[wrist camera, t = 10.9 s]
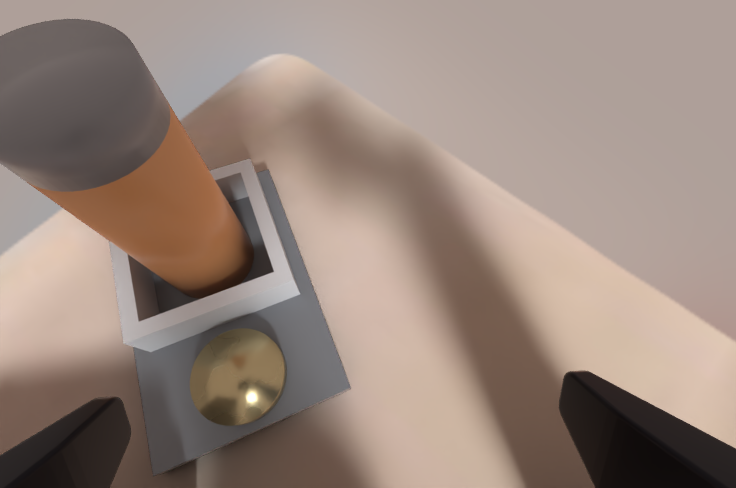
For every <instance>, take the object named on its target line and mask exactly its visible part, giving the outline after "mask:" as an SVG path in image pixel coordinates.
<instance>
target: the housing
mask: <svg viewBox="0 0 736 488" xmlns="http://www.w3.org/2000/svg"><path fill="white" fill-rule="evenodd" d="M210 173H211V175H212V176H213V178H214V180H215V181H216V183H217V185H218V186H219V188H220V190H221V191H222V193H223V195H224V196H225V198H226V200H227V201H228V203H229V205H230V206H231V208H232V210H233V211H234V213H235V215H236V216H237V218H238V220H239V221H240V223H241V225H242V226H243V228H244V230H245V231H246V233H247V235H248V236H249V238H250V240H251V242H252V245H253V249H254V259H253V264H252V267H251V269H250V271H249V273H248V275H247V276H246V278H245V279H244V280H243V281H242V283H241V284H240V285H237V286H234V287H232V288H229V289H226V290H224V291H221V292H218V293H215V294H213V295H210V296H207V297H205V298H202V299H199V298H193V297H190V296H187V295H185V294H184V293H182V292H180V291H179V290H178V289H176V288H175V287H173V286H172V285H171V284H169V283H168V282H166V281H165V280H164V279H162V278H161V277H159V276H158V275H157V274H155V273H154V272H152V271H151V270H150V269H148V268H147V267H145V266H144V265H143V264H141V263H140V262H138V261H137V260H135V259H134V258H133V257H131V256H130V255H128V254H127V253H126V252H124V251H123V250H121V249H120V248H119V247H117V246H116V245H114V244H113V243H112V242H110V241H109V246H110V252H111V259H112V266H113V273H114V280H115V287H116V294H117V301H118V308H119V315H120V322H121V329H122V336H123V343H124V344H126V345H129V346H132V347H133V348H134V355H135V361H136V368H137V374H138V381H139V387H140V394H141V400H142V407H143V413H144V420H145V426H146V433H147V439H148V446H149V452H150V459H151V465H152V472H153V476H155V475H159V474H162V473H165V472H168V471H170V470H172V469H174V468H177V467H179V466H181V465H183V464H185V463H188V462H190V461H192V460H194V459H197V458H199V457H201V456H203V455H206V454H208V453H210V452H212V451H214V450H217V449H219V448H221V447H223V446H226V445H228V444H230V443H232V442H234V441H237V440H239V439H241V438H243V437H246V436H248V435H250V434H252V433H254V432H257V431H259V430H261V429H263V428H266V427H268V426H270V425H272V424H274V423H277V422H279V421H281V420H283V419H286V418H288V417H290V416H292V415H294V414H297V413H299V412H301V411H303V410H306V409H308V408H310V407H312V406H314V405H317V404H319V403H321V402H323V401H326V400H328V399H330V398H332V397H334V396H337V395H339V394H341V393H343V392H346V391H348V390H350V389H351V387H350V384H349V382H348V379H347V377H346V374H345V371H344V369H343V366H342V363H341V361H340V358H339V355H338V353H337V350H336V347H335V345H334V342H333V339H332V337H331V334H330V332H329V329H328V326H327V324H326V321H325V318H324V316H323V313H322V310H321V308H320V305H319V302H318V300H317V297H316V294H315V292H314V289H313V286H312V284H311V281H310V279H309V276H308V273H307V271H306V268H305V265H304V263H303V260H302V257H301V255H300V252H299V249H298V247H297V244H296V241H295V239H294V236H293V233H292V231H291V228H290V226H289V223H288V220H287V218H286V215H285V212H284V210H283V207H282V204H281V202H280V199H279V196H278V194H277V191H276V188H275V186H274V183H273V180H272V178H271V175H270V173H269V170H265V171H261V172H258V173H256V171H255V169H254V166H253V164H252V161H251V159H250V158H249V159H246V160H243V161H239V162H236V163H233V164H229V165H226V166H223V167H220V168H216V169H213V170H210Z"/></svg>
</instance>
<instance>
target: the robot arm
mask: <svg viewBox="0 0 736 488" xmlns="http://www.w3.org/2000/svg"><path fill="white" fill-rule="evenodd" d="M559 410H560V413H561V416H562V418H563V420H564V423H565V425H566V427H567V429H568V431H569V433H570V435H571V438H572V440H573V442H574V444H575V446H576V448H577V450H578V453H579V455H580V457H581V459H582V461H583V463H584V465H585V468H586V470H587V472H588V474H589V476H590V478H591V480H592V482H593V484H594V486H595V488H736V449H735V448H734V447H732V446H730V445H728V444H726V443H724V442H722V441H720V440H718V439H716V438H715V437H713V436H711V435H709V434H707V433H705V432H703V431H701V430H699V429H697V428H695V427H694V426H692V425H690V424H688V423H686V422H684V421H682V420H680V419H678V418H676V417H675V416H673V415H671V414H669V413H667V412H665V411H663V410H661V409H659V408H657V407H655V406H654V405H652V404H650V403H648V402H646V401H644V400H642V399H640V398H638V397H636V396H635V395H633V394H631V393H629V392H627V391H625V390H623V389H621V388H619V387H617V386H615V385H614V384H612V383H610V382H608V381H606V380H604V379H602V378H600V377H598V376H596V375H595V374H593V373H591V372H589V371H570V372H567V373H566V374H565V375H564V379H563V384H562V389H561V394H560V399H559ZM130 436H131V428H130V424H129V421H128V418H127V415H126V411H125V408H124V405H123V402H122V400H121V399H120V398H118V397H101V398H96V399H93V400H91V401H90V402H88V403H86V404H85V405H83V406H81V407H80V408H78V409H76V410H75V411H73V412H71V413H70V414H68V415H66V416H65V417H63V418H61V419H60V420H58V421H56V422H55V423H53V424H52V425H50V426H48V427H47V428H45V429H43V430H42V431H40V432H38V433H37V434H35V435H33V436H32V437H30V438H28V439H27V440H25V441H23V442H22V443H20V444H18V445H17V446H15V447H13V448H12V449H10V450H8V451H7V452H5V453H3V454H2V455H0V488H110V486H111V484H112V481H113V479H114V477H115V474H116V472H117V469H118V467H119V465H120V462H121V460H122V457H123V455H124V453H125V450H126V448H127V446H128V443H129V440H130Z"/></svg>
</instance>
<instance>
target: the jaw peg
mask: <svg viewBox="0 0 736 488" xmlns="http://www.w3.org/2000/svg"><path fill="white" fill-rule="evenodd" d="M0 163H1V164H2V165H3V166H5V167H6V168H8V169H9V170H10V171H12V172H13V173H15V174H16V175H17V176H19V177H20V178H22V179H23V180H25V181H26V182H27V183H29V184H30V185H31V186H33V187H34V188H36V189H37V190H38V191H40V192H41V193H43V194H44V195H46V196H47V197H48V198H50V199H51V200H53V201H54V202H55V203H57V204H58V205H60V206H61V207H62V208H64V209H65V210H67V211H68V212H69V213H71V214H72V215H74V216H75V217H76V218H78V219H79V220H81V221H82V222H83V223H85V224H86V225H88V226H89V227H91V228H92V229H93V230H95V231H96V232H98V233H99V234H100V235H102V236H103V237H105V238H106V239H107V240H109V241H110V242H112V243H113V244H114V245H116V246H117V247H119V248H120V249H121V250H123V251H124V252H126V253H127V254H128V255H130V256H131V257H133V258H134V259H135V260H137V261H138V262H140V263H141V264H143V265H144V266H145V267H147V268H148V269H150V270H151V271H152V272H154V273H155V274H157V275H158V276H159V277H161V278H162V279H164V280H165V281H166V282H168V283H169V284H171V285H172V286H173V287H175V288H176V289H178V290H179V291H180V292H182V293H184V294H185V295H187V296H190V297H193V298H199V299H202V298H205V297H207V296H210V295H213V294H215V293H218V292H221V291H224V290H226V289H229V288H232V287H234V286H237V285H240V284H241V283H242V281H243V280H244V279H245V278H246V276H247V275H248V273H249V271H250V269H251V267H252V264H253V259H254V249H253V245H252V242H251V240H250V238H249V236H248V235H247V233H246V231H245V230H244V228H243V226H242V225H241V223H240V221H239V220H238V218H237V216H236V215H235V213H234V211H233V210H232V208H231V206H230V205H229V203H228V201H227V200H226V198H225V196H224V195H223V193H222V191H221V190H220V188H219V186H218V185H217V183H216V181H215V180H214V178H213V176H212V175H211V173H210V171H209V170H208V168H207V166H206V165H205V163H204V161H203V160H202V158H201V156H200V155H199V153H198V151H197V150H196V148H195V146H194V145H193V143H192V141H191V140H190V138H189V136H188V135H187V133H186V131H185V130H184V128H183V126H182V125H181V123H180V121H179V120H178V118H177V116H176V115H175V113H174V111H173V110H172V108H171V106H170V105H169V103H168V101H167V100H166V98H165V97H164V95H163V93H162V91H161V90H160V88H159V86H158V85H157V83H156V81H155V80H154V78H153V76H152V75H151V73H150V71H149V70H148V68H147V66H146V65H145V63H144V61H143V60H142V58H141V56H140V55H139V53H138V51H137V50H136V48H135V46H134V45H133V43H132V42H131V41H130V39H128V37H127V36H126V35H124V34H123V33H122V32H120V31H119V30H117V29H116V28H113V27H111V26H109V25H106V24H103V23H100V22H95V21H90V20H80V19H63V20H52V21H45V22H41V23H36V24H32V25H28V26H25V27H22V28H19V29H16V30H14V31H11V32H9V33H6V34H4V35H2V36H0Z"/></svg>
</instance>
